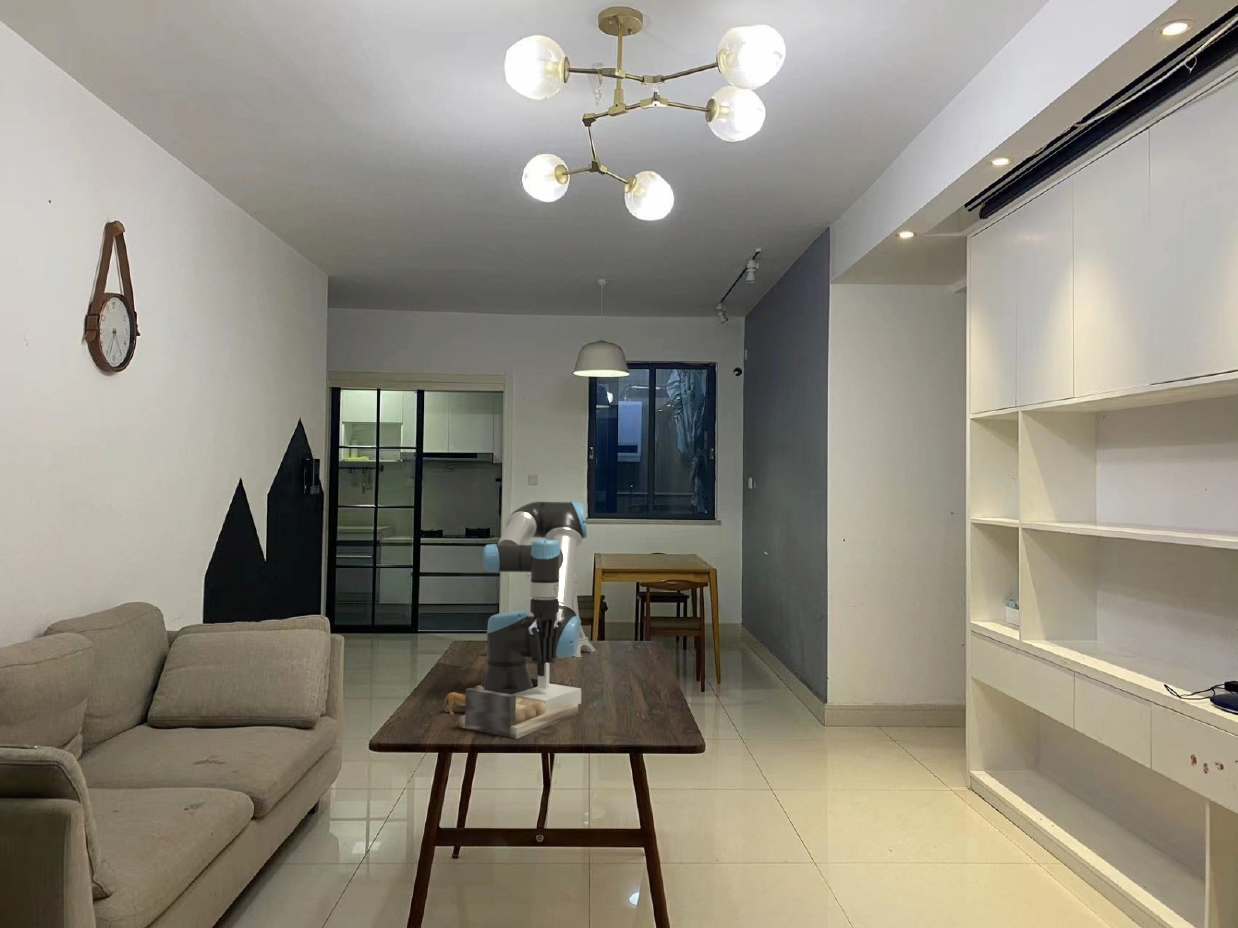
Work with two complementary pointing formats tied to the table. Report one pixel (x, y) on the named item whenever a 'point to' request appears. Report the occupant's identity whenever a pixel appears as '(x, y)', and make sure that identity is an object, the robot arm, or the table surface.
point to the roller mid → (527, 711)
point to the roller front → (519, 716)
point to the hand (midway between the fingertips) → (543, 687)
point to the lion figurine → (455, 700)
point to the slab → (553, 696)
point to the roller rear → (533, 705)
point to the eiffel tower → (583, 639)
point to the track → (505, 714)
